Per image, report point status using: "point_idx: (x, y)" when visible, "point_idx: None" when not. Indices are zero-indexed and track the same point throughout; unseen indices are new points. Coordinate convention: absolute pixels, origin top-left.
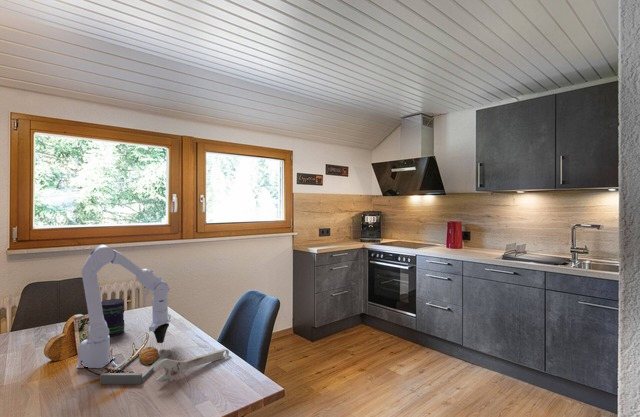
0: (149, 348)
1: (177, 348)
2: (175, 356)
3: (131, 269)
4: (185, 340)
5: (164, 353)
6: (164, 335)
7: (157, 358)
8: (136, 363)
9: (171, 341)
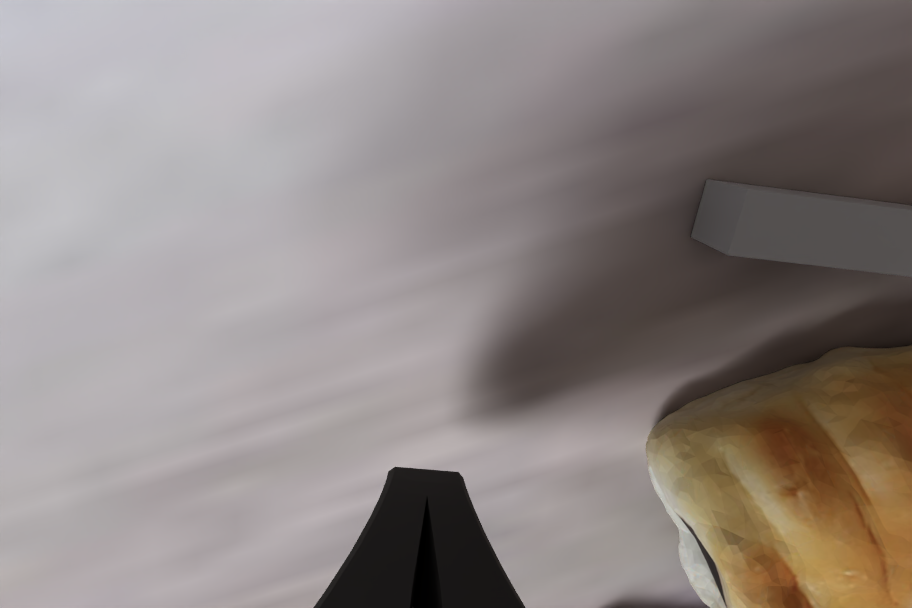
0: (787, 593)
1: (452, 126)
2: (857, 44)
3: None
4: (3, 69)
5: (879, 272)
6: (397, 566)
7: (862, 348)
8: None
9: (100, 355)
